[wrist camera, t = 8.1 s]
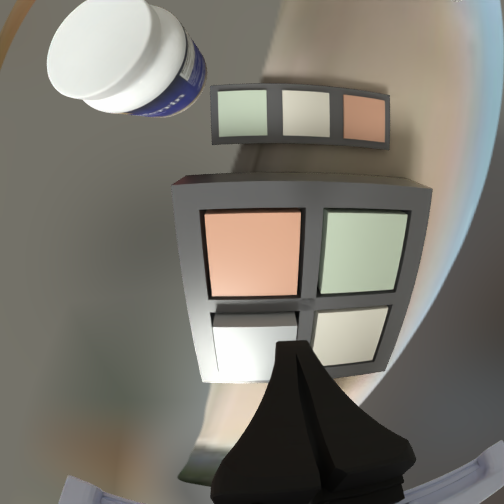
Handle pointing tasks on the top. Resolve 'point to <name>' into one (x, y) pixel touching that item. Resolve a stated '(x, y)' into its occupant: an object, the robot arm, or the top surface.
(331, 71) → the top surface
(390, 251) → the sage key
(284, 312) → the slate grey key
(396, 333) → the keyguard pad
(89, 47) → the pill bottle
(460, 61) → the top surface
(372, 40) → the top surface
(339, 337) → the ivory key
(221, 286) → the terracotta key
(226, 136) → the strip
